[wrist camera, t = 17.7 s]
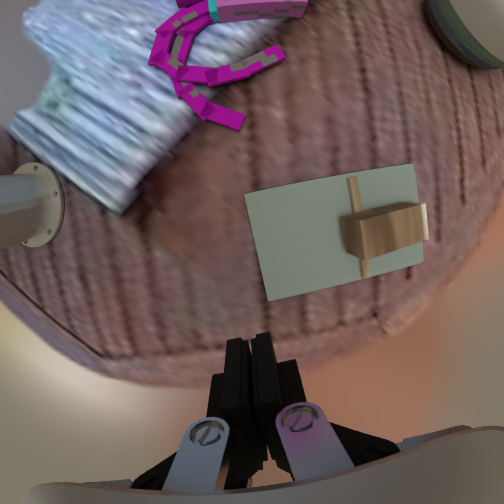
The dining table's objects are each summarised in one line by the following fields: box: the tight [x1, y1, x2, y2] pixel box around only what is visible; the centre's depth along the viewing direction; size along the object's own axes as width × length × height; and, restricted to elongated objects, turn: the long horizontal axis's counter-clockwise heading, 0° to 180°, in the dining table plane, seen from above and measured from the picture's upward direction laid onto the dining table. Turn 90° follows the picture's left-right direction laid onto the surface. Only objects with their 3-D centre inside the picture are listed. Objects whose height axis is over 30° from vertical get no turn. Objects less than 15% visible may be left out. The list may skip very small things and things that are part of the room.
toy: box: [148, 0, 308, 131], centre depth 29 cm, size 27×5×20 cm
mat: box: [244, 163, 424, 301], centre depth 37 cm, size 23×14×1 cm, turn 103°
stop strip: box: [346, 177, 371, 279], centre depth 36 cm, size 1×13×1 cm, turn 12°
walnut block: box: [341, 201, 429, 261], centre depth 34 cm, size 4×4×10 cm
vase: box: [426, 0, 504, 69], centre depth 18 cm, size 17×17×24 cm
